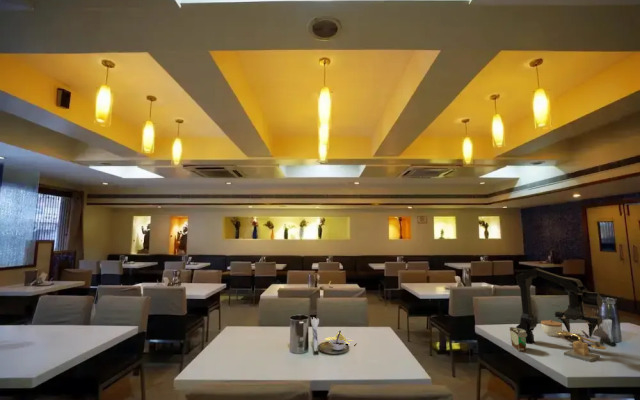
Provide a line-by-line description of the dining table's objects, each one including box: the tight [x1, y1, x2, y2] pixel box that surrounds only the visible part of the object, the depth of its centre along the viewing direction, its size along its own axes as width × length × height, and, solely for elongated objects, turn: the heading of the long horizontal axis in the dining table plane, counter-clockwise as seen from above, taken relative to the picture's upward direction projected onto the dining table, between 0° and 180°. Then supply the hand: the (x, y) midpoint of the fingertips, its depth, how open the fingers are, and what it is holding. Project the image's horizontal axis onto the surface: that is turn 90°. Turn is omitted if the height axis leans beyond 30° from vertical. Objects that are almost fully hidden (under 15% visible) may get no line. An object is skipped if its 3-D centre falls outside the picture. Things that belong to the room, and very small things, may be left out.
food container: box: [509, 326, 527, 353], centre depth 170 cm, size 12×6×10 cm, turn 168°
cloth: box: [324, 331, 353, 344], centre depth 183 cm, size 22×19×6 cm
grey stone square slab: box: [563, 348, 601, 363], centre depth 158 cm, size 11×11×1 cm
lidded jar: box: [540, 319, 563, 338], centre depth 194 cm, size 11×11×9 cm
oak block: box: [572, 340, 590, 356], centre depth 159 cm, size 4×4×6 cm
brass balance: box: [557, 329, 607, 351], centre depth 170 cm, size 22×6×8 cm, turn 28°
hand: (579, 334), depth 160 cm, fingers open, 9 cm apart
